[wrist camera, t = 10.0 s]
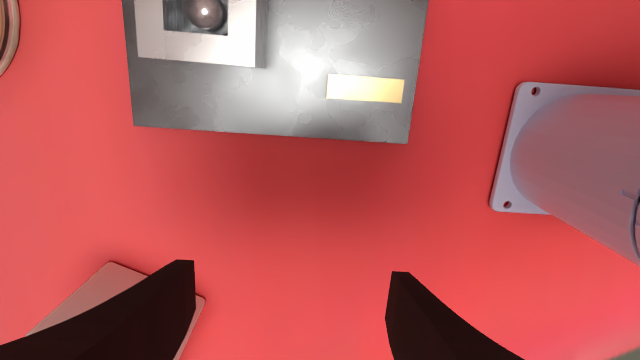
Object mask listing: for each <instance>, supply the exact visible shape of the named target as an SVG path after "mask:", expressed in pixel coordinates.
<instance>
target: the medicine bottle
mask: <svg viewBox="0 0 640 360" xmlns="http://www.w3.org/2000/svg"><path fill="white" fill-rule="evenodd" d="M146 277H148V276H146V275H144V274H141V273H139V272H136V271H133V270H131V269H128V268H126V267H123V266H121V265H118V264H116V263H113V262H109V263H106V264H105V265H104V266H103V267H102V268H101V269H99V270H98V271H97V272H96V273H95V274H94V275H93V276H91V277H90V278H89V279H88V280H87V281H86V282H85V283H84V284H82V285H81V286H80V287H79V288H78V289H77V290H76V291H75V292H73V293H72V294H71V295H70V296H69V297H68V298H67V299H66V300H64V301H63V302H62V303H61V304H60V305H59V306H58V307H57V308H55V309H54V310H53V311H52V312H51V313H50V314H49V315H48V316H46V317H45V318H44V319H43V320H42V321H41V322H40V323H39V324H37V325H36V326H35V327H34V328H33V329H32V330H31V331H30V332H28V333H27V335H26V336H28V335H31V334H33V333H36V332H38V331H41V330H43V329H46V328H48V327H51V326H53V325H56V324H59V323H61V322H63V321H66V320H68V319H70V318H72V317H74V316H77V315H79V314H81V313H83V312H85V311H87V310H89V309H91V308H93V307H95V306H97V305H99V304H101V303H103V302H105V301H107V300H108V299H110V298H112V297H114V296H116V295H117V294H119V293H121V292H123V291H125V290H126V289H128V288H130V287H132V286H133V285H135V284H137V283H138V282H140V281H142V280H143V279H145V278H146ZM204 304H205V300H204V298H202V297H200V296H197V295H196V310H195V313H194V316H193V319H192V322H191V324H190V327H189V329H188V332H187V334H186V336H185V338H184V340H183V342H182V344H181V346H180V348H179V350H178V352H177V354H176V356H175V357H174V359H173V360H179V358H180V356H181V354H182V352H183V350H184V348H185V345H186V343H187V341H188V339H189V337H190V335H191V333H192V330H193V328H194V326H195V324H196V322H197V320H198V317H199V315H200V313H201V311H202V309H203V307H204ZM26 336H25V337H26Z"/></svg>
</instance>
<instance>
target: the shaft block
mask: <svg viewBox="0 0 640 360" xmlns="http://www.w3.org/2000/svg"><path fill="white" fill-rule="evenodd" d="M428 1H429V0H268V16H267V46H266V69H263V68H252V67H240V66H228V65H217V64H205V63H194V62H182V61H171V60H162V59H153V58H144V57H138V48H137V34H136V21H135V7H134V0H122V7H123V18H124V28H125V39H126V50H127V60H128V71H129V81H130V92H131V102H132V113H133V124H134V126H144V127H159V128H174V129H189V130H204V131H219V132H234V133H249V134H264V135H279V136H294V137H309V138H324V139H339V140H354V141H369V142H384V143H399V144H407V143H408V137H409V130H410V123H411V116H412V109H413V103H414V96H415V89H416V82H417V76H418V69H419V62H420V55H421V49H422V42H423V35H424V28H425V21H426V15H427V8H428ZM184 11H185V14H186V17H187V19H188V20H189V21H190V22H191V23H192V33H200V34H211V35H222V36H228V0H185V3H184Z"/></svg>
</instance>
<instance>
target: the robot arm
mask: <svg viewBox="0 0 640 360" xmlns="http://www.w3.org/2000/svg"><path fill="white" fill-rule="evenodd" d="M534 87H535V88H536V93H535V94H534V95H532V94H531V91H532V89H533V88H534ZM506 201H508V204H507V205H506V206H504V207H503V205H504V203H505V202H506ZM489 205H490V207H491V208H492V209H493V210H495V211H498V212H514V213H530V214H547V215H553V216H554V217H556V218H558V219H560V220H561V221H563V222H565V223H566V224H568V225H570V226H571V227H573V228H575V229H577V230H578V231H580V232H582V233H583V234H585V235H587V236H588V237H590V238H592V239H594V240H595V241H597V242H599V243H600V244H602V245H604V246H606V247H607V248H609V249H611V250H612V251H614V252H616V253H617V254H619V255H621V256H623V257H624V258H626V259H628V260H629V261H631V262H633V263H634V264H636V265H638V266H640V90H635V89H622V88H608V87H594V86H581V85H567V84H553V83H540V82H522V83H520V84H519V85H518V86H517V88H516V90H515V94H514V99H513V103H512V107H511V111H510V116H509V120H508V124H507V129H506V133H505V137H504V142H503V146H502V150H501V154H500V159H499V163H498V167H497V172H496V176H495V180H494V184H493V189H492V193H491V197H490V202H489ZM195 310H196V293H195V272H194V260H178V259H177V260H175V261H173V262H171V263H169V264H168V265H166V266H164V267H163V268H161V269H159V270H158V271H156V272H155V273H153V274H151V275H150V276H148V277H146V278H145V279H143V280H142V281H140V282H138V283H137V284H135V285H133V286H132V287H130V288H128V289H126V290H125V291H123V292H121V293H119V294H117V295H116V296H114V297H112V298H110V299H108V300H107V301H105V302H103V303H101V304H99V305H97V306H95V307H93V308H91V309H89V310H87V311H85V312H83V313H81V314H79V315H77V316H74V317H72V318H70V319H68V320H66V321H63V322H61V323H59V324H56V325H53V326H51V327H48V328H46V329H43V330H41V331H38V332H36V333H33V334H31V335H28V336H26V337H23V338H20V339H17V340H15V341H12V342H9V343H6V344H3V345H0V360H173V359H174V357H175V356H176V354H177V352H178V350H179V348H180V346H181V344H182V342H183V340H184V338H185V336H186V334H187V332H188V329H189V327H190V324H191V322H192V319H193V316H194V313H195ZM385 321H386V327H387V333H388V338H389V344H390V347H391V351H392V354H393V357H394V360H524V359H523V358H521V357H519V356H517V355H516V354H514V353H512V352H510V351H509V350H507V349H505V348H504V347H502V346H501V345H499V344H497V343H496V342H494V341H493V340H491V339H490V338H488V337H487V336H485V335H484V334H482V333H481V332H479V331H478V330H477V329H475V328H474V327H473V326H471V325H470V324H469V323H467V322H466V321H465V320H463V319H462V318H461V317H460V316H458V315H457V314H456V313H454V312H453V311H452V310H451V309H450V308H448V307H447V306H446V305H445V304H444V303H443V302H441V301H440V300H439V299H438V298H437V297H436V296H435V295H434V294H432V293H431V292H430V291H429V290H428V289H427V288H426V287H425V286H424V285H423V284H421V283H420V282H419V281H418V280H417V279H416V278H415V277H414V276H412V275H411V274H410V273H409V272H395V271H392V275H391V282H390V288H389V295H388V301H387V308H386V315H385Z"/></svg>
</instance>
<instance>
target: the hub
mask: <svg viewBox="0 0 640 360" xmlns="http://www.w3.org/2000/svg"><path fill="white" fill-rule="evenodd" d="M184 3H185V0H134V7H135V21H136V34H137V48H138V57H144V58H153V59H162V60H171V61H182V62H194V63H205V64H217V65H228V66H240V67H252V68H263V69H266V46H267V16H268V0H228V36H222V35H211V34H200V33H192V23H191V22H190V21H189V20H188V19H187V17H186V14H185V11H184Z"/></svg>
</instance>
